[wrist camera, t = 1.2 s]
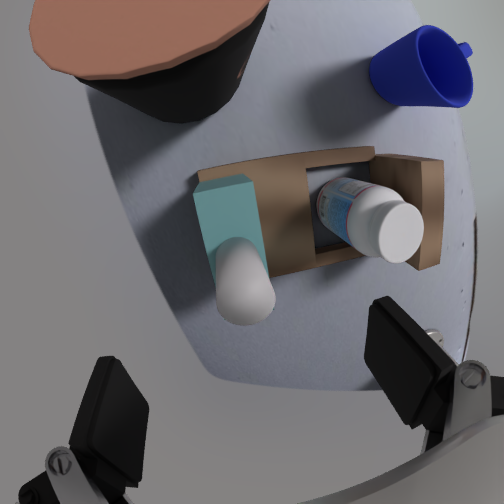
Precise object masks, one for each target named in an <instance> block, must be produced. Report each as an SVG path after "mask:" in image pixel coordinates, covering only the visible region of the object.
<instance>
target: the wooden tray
mask: <svg viewBox="0 0 504 504" xmlns="http://www.w3.org/2000/svg"><path fill="white" fill-rule="evenodd" d="M363 161H369V170H370V182H371V183H372V184H376V185H380V186H384V187H387V188H390V189H392V190H394V191H395V192H397V193H398V194H399V195H400V196H401V197H402V199H403V200H404V201H405V202H406V203H409V204H411V205H413V206H415V207H416V208H417V209H418V210H419V212H420V214H421V216H422V219H423V224H424V232H423V237H422V241H421V243H420V245H419V247H418V249H417V251H416V252H415V253H414V254H413V255H412V256H411V257H410V258H409V259H407V260H406V261H405V262H407V263H408V264H410V265H411V266H412V267H414V268H415V269H417V270H418V271H420V270H423V269H426V268H429V267H432V266H434V265H437V264H440V256H441V247H442V236H443V221H444V161H443V160H437V159H430V158H423V157H416V156H407V155H398V154H376V155H375V150H374V146H363V147H349V148H337V149H327V150H318V151H309V152H301V153H293V154H286V155H279V156H272V157H266V158H260V159H254V160H248V161H243V162H237V163H232V164H227V165H222V166H217V167H212V168H207V169H203V170H198V171H197V172H198V177H199V182H203V181H208V180H212V179H217V178H222V177H227V176H232V175H237V174H242V173H243V174H244V175H246V176H247V177H248V178H249V179H251V180H252V181H253V185H254V190H255V196H256V202H257V208H258V214H259V219H260V225H261V231H262V237H263V243H264V249H265V255H266V261H267V267H268V274H269V278H271V277H276V276H281V275H285V274H290V273H294V272H298V271H303V270H307V269H312V268H316V267H320V266H324V265H329V264H333V263H337V262H341V261H345V260H350V259H354V258H358V257H362V256H366V255H364V254H362V253H361V252H359V251H358V250H356V249H355V248H354V247H352V246H351V245H350V244H348V243H347V242H344V243H339V244H334V245H330V246H325V247H321V248H316V249H315V245H314V234H313V224H312V215H311V206H310V198H309V189H308V182H307V174H306V168H311V167H319V166H326V165H335V164H343V163H353V162H363Z"/></svg>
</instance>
